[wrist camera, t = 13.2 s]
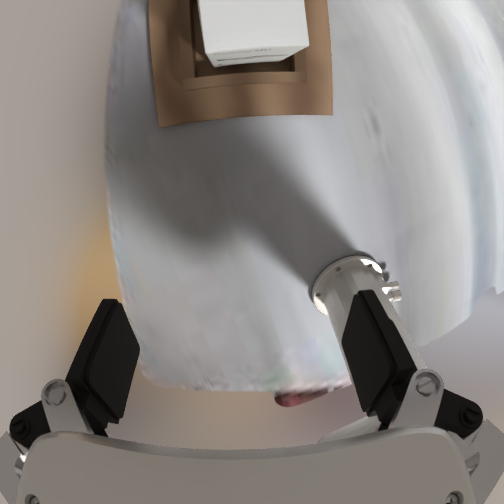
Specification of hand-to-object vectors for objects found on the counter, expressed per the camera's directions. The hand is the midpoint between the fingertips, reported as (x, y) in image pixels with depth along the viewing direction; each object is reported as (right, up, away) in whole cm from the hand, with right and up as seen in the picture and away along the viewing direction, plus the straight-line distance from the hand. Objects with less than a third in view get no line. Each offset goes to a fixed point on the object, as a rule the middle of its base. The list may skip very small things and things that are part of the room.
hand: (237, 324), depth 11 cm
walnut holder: (-1, +27, +13) cm, 30 cm away
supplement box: (0, +26, +12) cm, 29 cm away
